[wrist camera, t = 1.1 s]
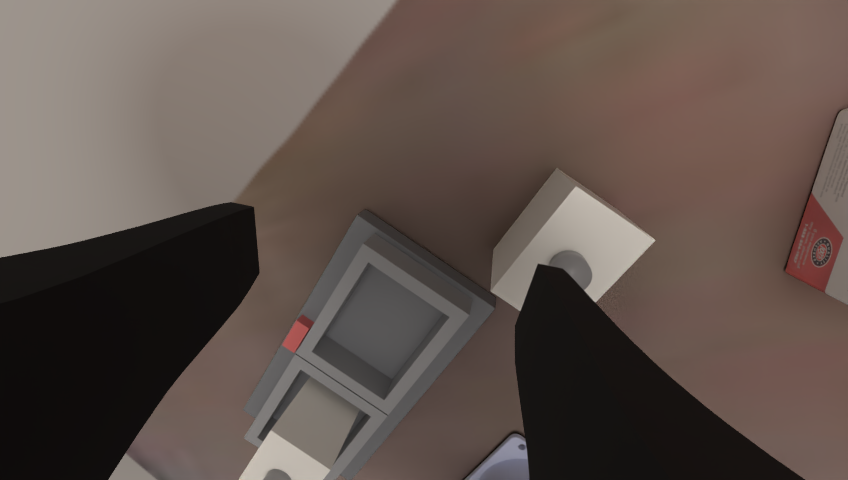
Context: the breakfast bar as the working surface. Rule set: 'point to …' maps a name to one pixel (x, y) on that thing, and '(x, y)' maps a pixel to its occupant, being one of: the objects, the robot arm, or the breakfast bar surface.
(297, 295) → the breakfast bar surface
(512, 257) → the plug
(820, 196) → the ink cartridge box
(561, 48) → the breakfast bar surface
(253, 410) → the grey compartment holder
